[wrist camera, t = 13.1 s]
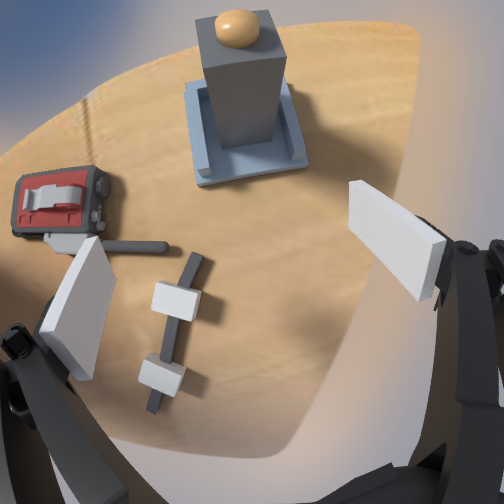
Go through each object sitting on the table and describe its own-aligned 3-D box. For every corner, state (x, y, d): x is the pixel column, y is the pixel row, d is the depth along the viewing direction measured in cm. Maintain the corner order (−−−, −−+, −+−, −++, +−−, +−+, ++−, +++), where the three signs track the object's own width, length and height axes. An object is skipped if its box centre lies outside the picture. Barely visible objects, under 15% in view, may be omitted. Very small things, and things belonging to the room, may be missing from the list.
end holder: (198, 187, 26) (192, 176, 22) (185, 97, 26) (179, 80, 23) (306, 167, 26) (313, 155, 23) (282, 81, 26) (285, 63, 23)
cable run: (140, 403, 25) (133, 413, 23) (172, 246, 25) (165, 244, 23) (176, 416, 25) (171, 426, 23) (213, 257, 25) (209, 256, 23)
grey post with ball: (222, 149, 25) (199, 55, 12) (214, 108, 25) (192, 7, 12) (271, 141, 25) (289, 43, 12) (261, 100, 25) (269, -4, 12)
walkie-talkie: (19, 253, 26) (172, 260, 26) (-6, 251, 21) (157, 259, 21) (27, 180, 26) (178, 166, 26) (4, 170, 22) (166, 149, 22)
